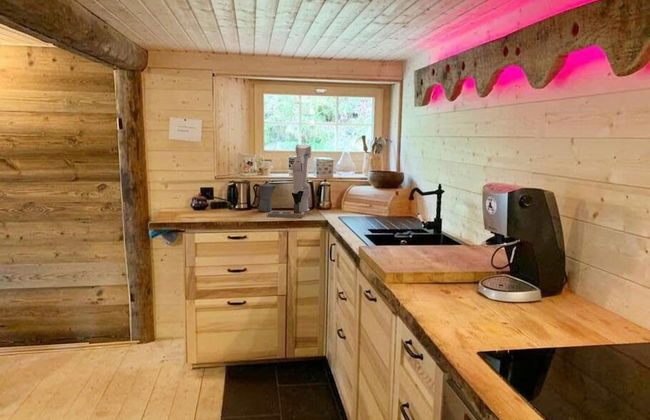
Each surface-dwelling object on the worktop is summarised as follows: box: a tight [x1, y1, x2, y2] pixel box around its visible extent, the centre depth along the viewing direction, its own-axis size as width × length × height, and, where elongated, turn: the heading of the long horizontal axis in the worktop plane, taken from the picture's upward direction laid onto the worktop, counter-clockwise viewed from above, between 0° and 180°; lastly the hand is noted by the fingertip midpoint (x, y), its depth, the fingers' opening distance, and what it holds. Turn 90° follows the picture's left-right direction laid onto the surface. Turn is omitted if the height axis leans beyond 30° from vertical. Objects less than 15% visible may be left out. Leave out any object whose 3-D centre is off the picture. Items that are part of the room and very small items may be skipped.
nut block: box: [293, 203, 301, 214], centre depth 301 cm, size 4×4×8 cm
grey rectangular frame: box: [267, 210, 306, 218], centre depth 302 cm, size 8×22×2 cm, turn 82°
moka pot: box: [252, 180, 277, 213], centre depth 317 cm, size 10×15×20 cm, turn 89°
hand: (297, 203), depth 300 cm, fingers open, 7 cm apart
